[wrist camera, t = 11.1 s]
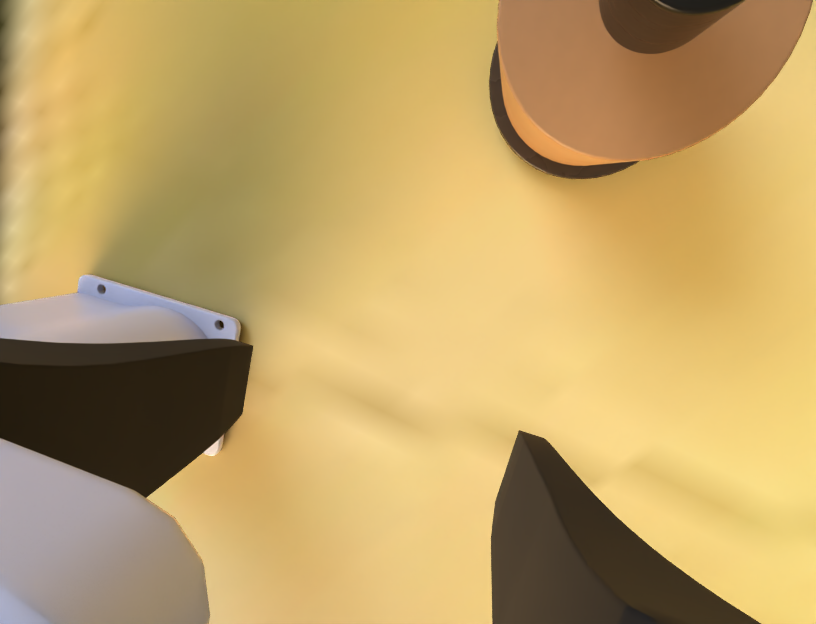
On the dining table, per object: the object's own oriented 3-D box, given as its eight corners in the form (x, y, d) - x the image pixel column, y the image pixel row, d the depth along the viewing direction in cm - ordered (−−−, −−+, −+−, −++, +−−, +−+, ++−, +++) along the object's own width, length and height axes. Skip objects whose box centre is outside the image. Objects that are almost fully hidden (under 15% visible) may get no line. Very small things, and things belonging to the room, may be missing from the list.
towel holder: (521, -52, 17) (542, -476, 6) (732, -18, 16) (1242, -455, 5) (469, 156, 19) (415, 134, 8) (648, 197, 18) (856, 233, 7)
